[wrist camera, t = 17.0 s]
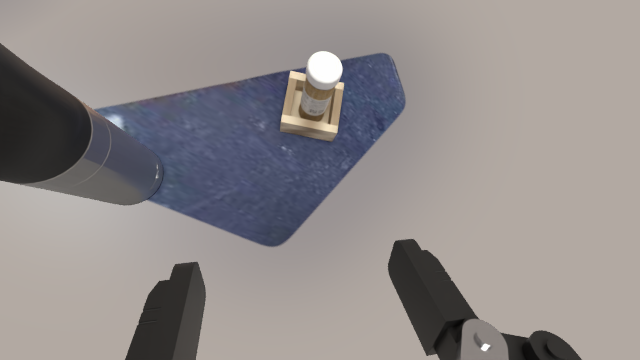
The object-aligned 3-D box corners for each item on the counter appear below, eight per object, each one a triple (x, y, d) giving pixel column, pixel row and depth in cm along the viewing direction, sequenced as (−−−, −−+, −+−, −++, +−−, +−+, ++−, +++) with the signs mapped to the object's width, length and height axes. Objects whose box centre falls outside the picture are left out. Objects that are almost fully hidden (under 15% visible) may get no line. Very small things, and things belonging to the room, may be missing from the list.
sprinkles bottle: (326, 104, 48) (346, 55, 35) (321, 127, 47) (339, 86, 34) (300, 96, 48) (311, 45, 35) (295, 120, 47) (303, 76, 34)
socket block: (280, 131, 47) (280, 121, 43) (289, 83, 48) (290, 70, 45) (331, 141, 48) (337, 133, 44) (338, 95, 50) (344, 83, 46)
